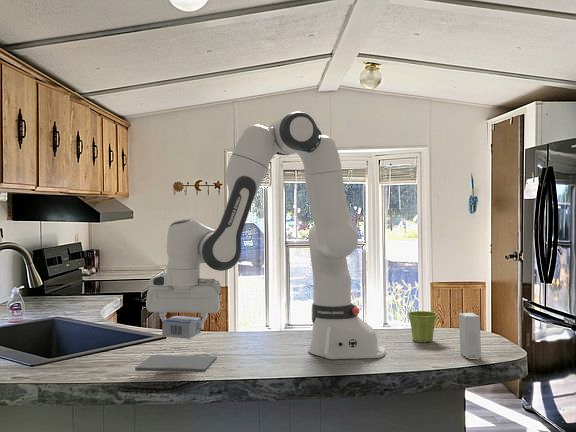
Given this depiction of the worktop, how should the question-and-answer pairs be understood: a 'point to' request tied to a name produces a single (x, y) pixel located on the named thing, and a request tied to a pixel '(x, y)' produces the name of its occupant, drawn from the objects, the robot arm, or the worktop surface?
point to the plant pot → (422, 325)
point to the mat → (176, 363)
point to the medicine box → (180, 327)
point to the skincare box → (470, 335)
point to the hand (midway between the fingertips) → (183, 328)
